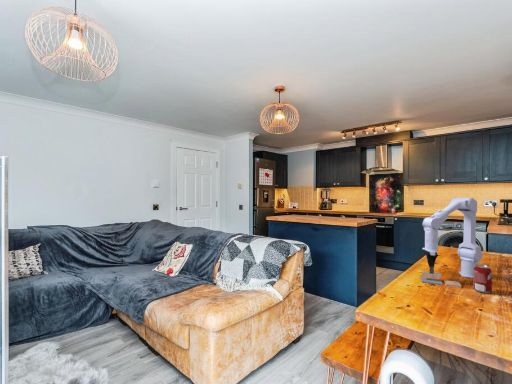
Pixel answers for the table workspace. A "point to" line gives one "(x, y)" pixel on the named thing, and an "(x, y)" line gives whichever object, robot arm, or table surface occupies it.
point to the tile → (452, 284)
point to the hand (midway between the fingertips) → (431, 266)
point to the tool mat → (431, 280)
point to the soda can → (482, 279)
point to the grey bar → (432, 272)
